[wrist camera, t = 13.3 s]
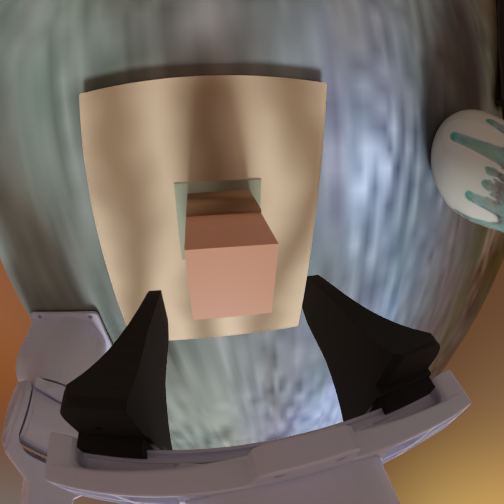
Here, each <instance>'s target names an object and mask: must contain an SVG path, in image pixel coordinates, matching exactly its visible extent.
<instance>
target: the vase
mask: <svg viewBox="0 0 504 504" xmlns="http://www.w3.org/2000/svg"><path fill="white" fill-rule="evenodd" d="M431 170H432V175H433V179H434V182H435V184H436V187H437V189H438V191H439V193H440V195H441V196H442V198H443V199H444V200H445V202H446V203H447V204H448V205H449V207H450V208H451V209H452V210H454V211H455V212H457V213H458V214H459V215H461V216H462V217H464V218H466V219H468V220H469V221H472V222H474V223H476V224H479V225H482V226H485V227H487V228H490V229H493V230H496V231H499V232H502V233H504V120H503V119H501V118H500V117H497V116H495V115H493V114H491V113H488V112H485V111H481V110H475V109H469V110H462V111H458V112H456V113H454V114H452V115H451V116H449V117H448V118H447V119H445V120H444V121H443V123H442V124H441V125H440V127H439V128H438V130H437V132H436V134H435V137H434V139H433V143H432V148H431Z"/></svg>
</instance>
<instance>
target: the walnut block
mask: <svg viewBox="0 0 504 504" xmlns="http://www.w3.org/2000/svg"><path fill="white" fill-rule="evenodd" d="M245 213H261V208H260V206H259V205H258V203H257V201H256V200H255V198H254V196H253V195H252V193H251V191H250V190H233V191H216V192H202V193H189V194H187V208H186V217H192V216H208V215H225V214H245Z"/></svg>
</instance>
